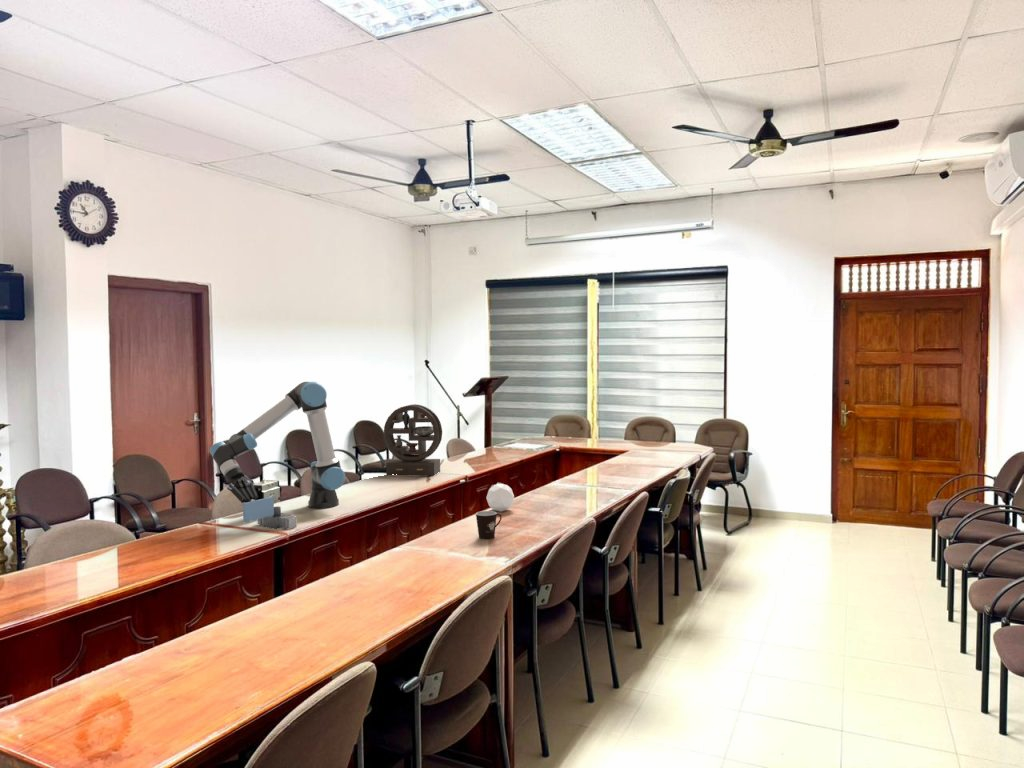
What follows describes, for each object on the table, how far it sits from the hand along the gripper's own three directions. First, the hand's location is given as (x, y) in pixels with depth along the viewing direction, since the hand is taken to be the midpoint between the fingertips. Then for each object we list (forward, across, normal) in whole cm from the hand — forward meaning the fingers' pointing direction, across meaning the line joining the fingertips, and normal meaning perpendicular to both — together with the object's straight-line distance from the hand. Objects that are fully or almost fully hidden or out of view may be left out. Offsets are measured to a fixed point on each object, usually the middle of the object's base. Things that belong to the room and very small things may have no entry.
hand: (258, 512), depth 298 cm
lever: (+4, 0, +1) cm, 4 cm away
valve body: (+7, -8, -3) cm, 11 cm away
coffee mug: (+74, -34, +67) cm, 105 cm away
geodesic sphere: (+60, -78, +51) cm, 111 cm away
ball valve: (-7, -20, -19) cm, 28 cm away
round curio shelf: (-14, -147, -26) cm, 150 cm away
